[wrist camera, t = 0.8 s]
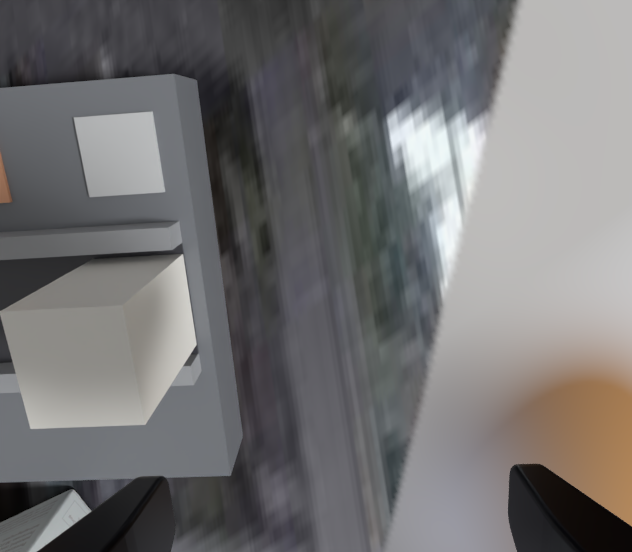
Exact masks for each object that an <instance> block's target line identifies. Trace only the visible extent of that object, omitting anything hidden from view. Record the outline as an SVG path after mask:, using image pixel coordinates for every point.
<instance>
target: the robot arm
mask: <svg viewBox="0 0 632 552" xmlns="http://www.w3.org/2000/svg"><path fill="white" fill-rule="evenodd" d="M509 478H510V479H509V500H508V517H509V523H510V528H511V532H512V536H513V539H514V542H515V546H516V549H517V552H632V527H631V526H630V525H629V524H627V523H626V522H624V521H623V520H621V519H620V518H619V517H617V516H615V515H614V514H613V513H611V512H610V511H608V510H607V509H605V508H604V507H603V506H601V505H599V504H598V503H597V502H595V501H594V500H592V499H591V498H589V497H588V496H586V495H585V494H584V493H582V492H581V491H579V490H578V489H576V488H575V487H574V486H572V485H571V484H569V483H568V482H566V481H565V480H563V479H562V478H561V477H559V476H558V475H556V474H555V473H553V472H552V471H550V470H549V469H548V468H546V467H544V466H543V465H540V464H516V465H514V466H513V467H512V468H511V471H510V477H509ZM174 535H175V516H174V510H173V505H172V499H171V494H170V488H169V484H168V481H167V479H166V478H165V477H164V476H140V477H137V478H136V479H134V480H133V481H131V482H130V483H129V484H127V485H126V486H125V487H123V488H122V489H121V490H119V491H118V492H117V493H115V494H114V495H113V496H111V497H110V498H109V499H107V500H106V501H105V502H103V503H102V504H100V505H99V506H98V507H96V508H95V509H94V510H92V511H91V512H90V513H88V514H87V515H86V516H84V517H83V518H82V519H80V520H79V521H78V522H76V523H75V524H73V525H72V526H71V527H69V528H68V529H67V530H65V531H64V532H63V533H61V534H60V535H59V536H57V537H56V538H55V539H53V540H52V541H51V542H49V543H48V544H47V545H45V546H44V547H42V548H41V549H40V550H38V551H37V552H171V548H172V544H173V540H174Z"/></svg>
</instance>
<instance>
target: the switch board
mask: <svg viewBox="0 0 632 552" xmlns="http://www.w3.org/2000/svg"><path fill="white" fill-rule="evenodd" d="M170 254H183V257H184V264H185V270H186V277H187V284H188V290H189V297H190V304H191V310H192V317H193V323H194V330H195V337H196V343H197V345H196V346H195V348H194V350H193V351H192V353H191V354H190V356H189V357H188V359H187V360H186V362H185V364H184V365H183V367H182V368H181V370H180V371H179V373H178V375H177V376H176V378H175V379H174V381H173V382H172V384H171V385H170V387H169V389H168V390H167V392H166V393H165V395H164V396H163V398H162V400H161V401H160V403H159V404H158V406H157V407H156V409H155V410H154V412H153V414H152V415H151V417H150V418H149V420H148V421H147V423H146V425H128V426H101V427H73V428H46V429H30V425H29V421H28V418H27V414H26V410H25V406H24V403H23V399H22V395H21V391H20V388H19V384H18V380H17V376H16V373H15V369H14V365H13V361H12V358H11V354H10V350H9V346H8V343H7V339H6V335H5V331H4V328H3V324H2V320H1V316H0V483H1V482H35V481H69V480H103V479H136V478H137V477H140V476H164V477H165V478H171V477H204V476H231V473H232V470H233V466H234V463H235V460H236V457H237V453H238V450H239V447H240V444H241V441H242V437H243V433H242V425H241V418H240V410H239V402H238V395H237V387H236V379H235V371H234V364H233V356H232V348H231V341H230V333H229V325H228V317H227V310H226V302H225V294H224V287H223V279H222V271H221V263H220V256H219V248H218V240H217V233H216V225H215V217H214V209H213V202H212V194H211V186H210V179H209V171H208V163H207V155H206V148H205V140H204V132H203V125H202V117H201V109H200V101H199V94H198V86H197V80H194V79H191V78H187V77H183V76H180V75H176V74H166V75H154V76H142V77H129V78H117V79H105V80H93V81H80V82H68V83H56V84H44V85H31V86H19V87H7V88H0V311H1V310H3V309H5V308H7V307H9V306H10V305H12V304H14V303H16V302H17V301H19V300H21V299H23V298H25V297H26V296H28V295H30V294H32V293H33V292H35V291H37V290H39V289H40V288H42V287H44V286H46V285H48V284H49V283H51V282H53V281H55V280H56V279H58V278H60V277H62V276H64V275H65V274H67V273H69V272H71V271H72V270H74V269H76V268H78V267H80V266H81V265H83V264H85V263H87V262H88V261H90V260H92V259H101V258H118V257H135V256H152V255H170Z"/></svg>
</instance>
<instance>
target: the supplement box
mask: <svg viewBox="0 0 632 552" xmlns="http://www.w3.org/2000/svg"><path fill="white" fill-rule="evenodd" d="M90 512H91V510H90V508H89V507H88V506H87V505H86V504H85V502H84V501H83V500H82V499H81V497H80V496H79V495H78V493H77V492H76V491H75V490H74V489H70V490H68V491H66V492H64V493H62V494H60V495H57V496H55V497H53V498H51V499H49V500H47V501H45V502H43V503H41V504H38V505H36V506H34V507H32V508H30V509H27V510H25V511H23V512H22V513H20V514H18V515H15V516H13V517H11V518H9V519H7V520H5V521H3V522H1V523H0V552H37V551H38V550H40V549H41V548H42V547H44V546H45V545H47V544H48V543H49V542H51V541H52V540H53V539H55V538H56V537H57V536H59V535H60V534H61V533H63V532H64V531H65V530H67V529H68V528H69V527H71V526H72V525H73V524H75V523H76V522H78V521H79V520H80V519H82V518H83V517H84V516H86V515H87V514H88V513H90Z"/></svg>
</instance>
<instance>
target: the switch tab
mask: <svg viewBox="0 0 632 552" xmlns="http://www.w3.org/2000/svg"><path fill="white" fill-rule="evenodd" d="M0 316H1V320H2V324H3V328H4V331H5V335H6V339H7V343H8V346H9V350H10V354H11V358H12V361H13V365H14V369H15V373H16V376H17V380H18V384H19V388H20V391H21V395H22V399H23V403H24V406H25V410H26V414H27V418H28V421H29V425H30V429H46V428H73V427H101V426H128V425H146V423H147V421H148V420H149V418H150V417H151V415H152V414H153V412H154V410H155V409H156V407H157V406H158V404H159V403H160V401H161V400H162V398H163V396H164V395H165V393H166V392H167V390H168V389H169V387H170V385H171V384H172V382H173V381H174V379H175V378H176V376H177V375H178V373H179V371H180V370H181V368H182V367H183V365H184V364H185V362H186V360H187V359H188V357H189V356H190V354H191V353H192V351H193V350H194V348H195V346H196V345H197V343H196V337H195V330H194V323H193V317H192V310H191V304H190V297H189V290H188V284H187V277H186V270H185V264H184V257H183V254H170V255H152V256H135V257H118V258H101V259H92V260H90V261H88V262H87V263H85V264H83V265H81V266H80V267H78V268H76V269H74V270H72V271H71V272H69V273H67V274H65V275H64V276H62V277H60V278H58V279H56V280H55V281H53V282H51V283H49V284H48V285H46V286H44V287H42V288H40V289H39V290H37V291H35V292H33V293H32V294H30V295H28V296H26V297H25V298H23V299H21V300H19V301H17V302H16V303H14V304H12V305H10V306H9V307H7V308H5V309H3V310H1V311H0Z"/></svg>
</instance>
